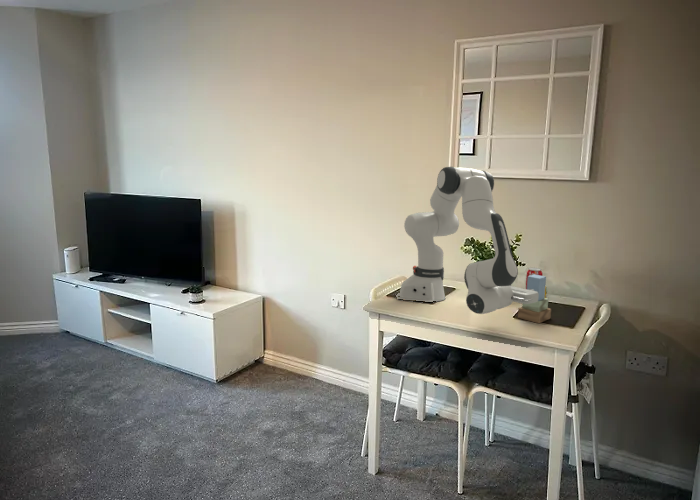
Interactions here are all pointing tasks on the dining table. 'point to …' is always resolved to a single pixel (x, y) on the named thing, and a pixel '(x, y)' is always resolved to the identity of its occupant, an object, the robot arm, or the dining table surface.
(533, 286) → the top brick
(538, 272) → the soda can
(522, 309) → the tower
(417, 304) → the dining table surface
